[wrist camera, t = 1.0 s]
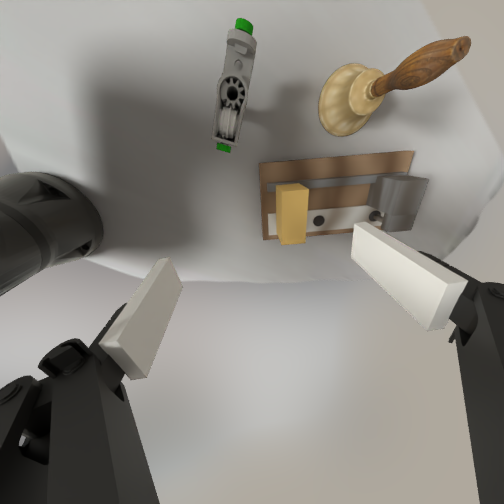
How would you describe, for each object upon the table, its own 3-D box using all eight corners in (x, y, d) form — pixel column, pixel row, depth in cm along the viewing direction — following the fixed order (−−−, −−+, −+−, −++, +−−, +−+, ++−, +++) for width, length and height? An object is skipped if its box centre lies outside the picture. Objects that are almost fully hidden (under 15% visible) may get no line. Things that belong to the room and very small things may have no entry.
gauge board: (262, 236, 37) (267, 257, 30) (259, 163, 30) (264, 167, 23) (385, 226, 37) (419, 244, 30) (406, 150, 30) (456, 150, 23)
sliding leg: (275, 230, 34) (281, 245, 29) (275, 184, 30) (281, 191, 25) (295, 229, 34) (305, 243, 29) (297, 182, 30) (308, 189, 25)
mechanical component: (254, 68, 25) (261, 24, 16) (237, 153, 30) (235, 154, 21) (232, 60, 24) (227, 10, 16) (218, 147, 29) (208, 146, 20)
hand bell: (326, 59, 25) (436, -56, 11) (385, 67, 25) (561, -32, 12) (312, 133, 29) (378, 119, 15) (363, 139, 29) (473, 129, 15)
